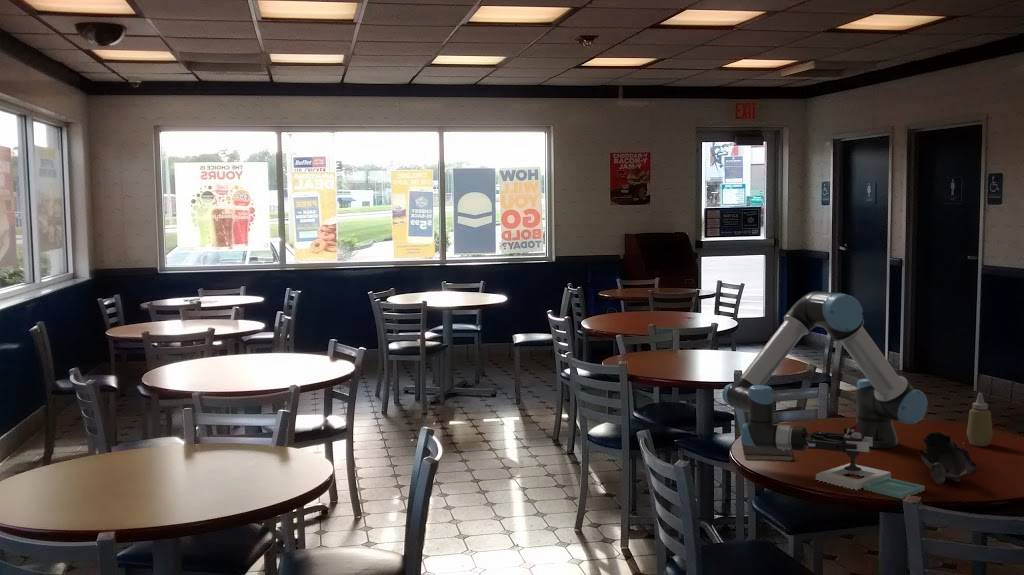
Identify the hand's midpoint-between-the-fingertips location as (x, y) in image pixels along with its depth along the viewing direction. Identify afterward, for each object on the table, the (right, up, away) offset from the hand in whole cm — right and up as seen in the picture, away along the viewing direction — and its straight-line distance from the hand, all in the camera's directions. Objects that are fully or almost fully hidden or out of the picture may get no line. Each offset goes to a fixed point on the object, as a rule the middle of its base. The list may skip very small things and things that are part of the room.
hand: (870, 444), depth 284 cm
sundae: (-4, -8, +3) cm, 10 cm away
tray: (+4, -12, -8) cm, 15 cm away
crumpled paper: (+23, -11, +2) cm, 25 cm away
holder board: (-4, -11, +3) cm, 12 cm away
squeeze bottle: (+53, -7, +41) cm, 67 cm away
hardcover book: (-21, -9, +39) cm, 45 cm away
